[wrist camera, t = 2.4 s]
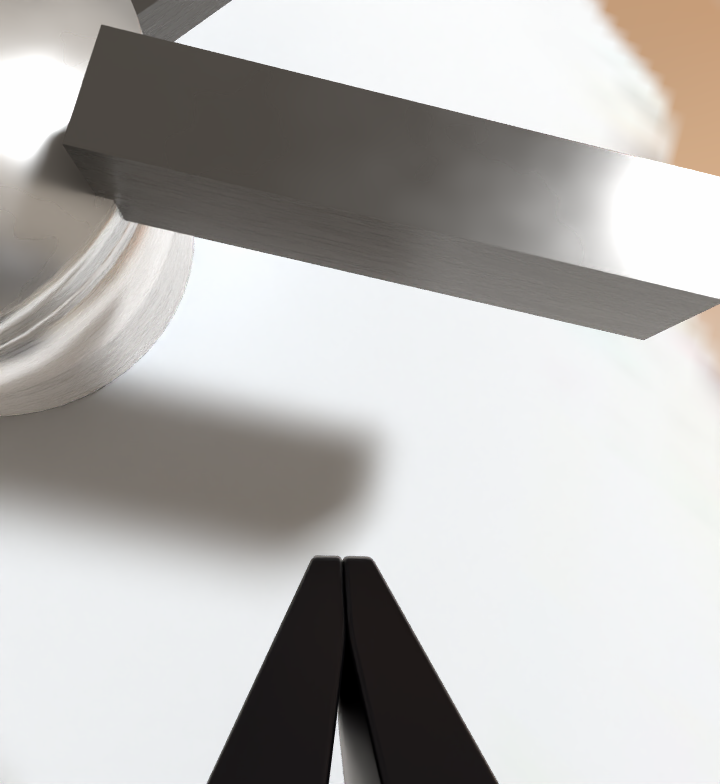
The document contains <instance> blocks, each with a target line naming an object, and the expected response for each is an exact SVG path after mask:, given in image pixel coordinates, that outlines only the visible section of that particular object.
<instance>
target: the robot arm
mask: <svg viewBox="0 0 720 784" xmlns="http://www.w3.org/2000/svg"><path fill="white" fill-rule="evenodd" d="M337 712H338V725H339V737H340V746H341V755H342V764H343V774H344V783H345V784H498V781H497V780H496V778H495V776H494V774H493V773H492V771H491V769H490V767H489V765H488V764H487V762H486V760H485V758H484V756H483V755H482V753H481V751H480V749H479V748H478V746H477V744H476V742H475V740H474V739H473V737H472V735H471V733H470V731H469V730H468V728H467V726H466V724H465V723H464V721H463V719H462V717H461V715H460V714H459V712H458V710H457V708H456V706H455V705H454V703H453V701H452V699H451V698H450V696H449V694H448V692H447V690H446V689H445V687H444V685H443V683H442V681H441V680H440V678H439V676H438V674H437V672H436V671H435V669H434V667H433V665H432V664H431V662H430V660H429V658H428V656H427V655H426V653H425V651H424V649H423V647H422V646H421V644H420V642H419V640H418V639H417V637H416V635H415V633H414V631H413V630H412V628H411V626H410V624H409V622H408V621H407V619H406V617H405V615H404V614H403V612H402V610H401V608H400V606H399V605H398V603H397V601H396V599H395V597H394V596H393V594H392V592H391V590H390V589H389V587H388V585H387V583H386V581H385V580H384V578H383V576H382V574H381V572H380V571H379V569H378V567H377V565H376V564H375V562H374V561H373V559H372V558H370V557H365V556H347V557H345V558H344V559H343V560H342V559H341V558H340V557H339V556H320V555H317V556H314V557H313V558H312V559H311V561H310V563H309V565H308V567H307V570H306V572H305V574H304V576H303V578H302V580H301V582H300V585H299V587H298V589H297V591H296V593H295V595H294V597H293V600H292V602H291V604H290V606H289V608H288V610H287V612H286V615H285V617H284V619H283V621H282V623H281V625H280V627H279V630H278V632H277V634H276V636H275V638H274V640H273V643H272V645H271V647H270V649H269V651H268V653H267V655H266V658H265V660H264V662H263V664H262V666H261V668H260V670H259V673H258V675H257V677H256V679H255V681H254V683H253V685H252V688H251V690H250V692H249V694H248V696H247V698H246V700H245V703H244V705H243V707H242V709H241V711H240V713H239V715H238V718H237V720H236V722H235V724H234V726H233V728H232V730H231V733H230V735H229V737H228V739H227V741H226V743H225V745H224V748H223V750H222V752H221V754H220V756H219V758H218V760H217V763H216V765H215V767H214V769H213V771H212V773H211V775H210V778H209V780H208V782H207V784H329V777H330V769H331V761H332V753H333V744H334V736H335V728H336V720H337Z"/></svg>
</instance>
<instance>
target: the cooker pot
mask: <svg viewBox="0 0 720 784" xmlns="http://www.w3.org/2000/svg"><path fill="white" fill-rule="evenodd" d="M230 1H231V0H131V2H132V4H133V7H134V9H135V12H136V14H137V17H138V20H139V23H140V26H141V29H142V32H143V35H147V36H151V37H155V38H159V39H163V40H167V41H171V42H174V41H175V40H177V39H178V38H180V37H181V36H182V35H184V34H185V33H187V32H188V31H189V30H191V29H192V28H194V27H195V26H196V25H198V24H199V23H201V22H202V21H203V20H205V19H206V18H208V17H209V16H210V15H212V14H213V13H215V12H216V11H217V10H219V9H220V8H222V7H223V6H224V5H226V4H227V3H229V2H230ZM193 253H194V236H190V235H186V234H181V233H177V232H173V231H168V230H164V229H160V228H155V227H151V226H147V225H142V224H138V223H134V222H129V224H128V226H127V227H126V229H125V231H124V233H123V235H122V237H121V238H120V240H119V241H118V243H117V244H116V245H115V247H114V248H113V249H112V251H111V252H110V253H109V255H108V256H107V258H106V259H105V260H104V262H103V263H102V264H101V266H100V267H99V268H98V269H97V270H96V271H95V272H94V274H93V275H92V276H91V277H90V278H89V279H88V280H87V281H86V282H85V283H84V284H83V285H82V286H81V287H80V288H79V289H78V290H77V291H76V292H75V293H74V295H72V296H71V297H70V298H69V299H67V300H66V301H65V302H64V303H63V304H61V305H60V306H59V307H58V308H56V309H55V310H54V311H53V312H52V313H50V314H49V315H48V316H47V317H45V318H44V319H43V320H41V321H40V322H38V323H37V324H35V325H33V326H32V327H30V328H29V329H27V330H25V331H24V332H22V333H21V334H19V335H18V336H16V337H14V338H13V339H11V340H10V341H8V342H5V343H3V344H1V345H0V416H14V415H21V414H28V413H34V412H40V411H44V410H47V409H51V408H55V407H58V406H62V405H65V404H67V403H70V402H72V401H75V400H77V399H80V398H82V397H85V396H87V395H89V394H91V393H93V392H94V391H96V390H98V389H100V388H102V387H103V386H105V385H107V384H109V383H110V382H112V381H113V380H114V379H116V378H117V377H119V376H120V375H121V374H123V373H124V372H125V371H127V370H128V369H130V368H131V367H132V366H133V365H134V364H135V363H136V362H137V361H138V360H139V359H140V358H141V357H142V356H143V355H144V354H146V353H147V352H148V350H149V349H150V348H151V347H152V346H153V344H154V343H155V342H156V341H157V339H158V338H159V337H160V336H161V335H162V333H163V332H164V330H165V329H166V327H167V325H168V324H169V322H170V321H171V319H172V317H173V316H174V314H175V312H176V310H177V308H178V306H179V303H180V301H181V299H182V297H183V295H184V292H185V289H186V286H187V282H188V279H189V275H190V272H191V266H192V259H193Z"/></svg>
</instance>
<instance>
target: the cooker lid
mask: <svg viewBox="0 0 720 784" xmlns="http://www.w3.org/2000/svg"><path fill="white" fill-rule="evenodd" d="M129 222H134V223H138V224H142V225H147V226H151V227H155V228H160V229H164V230H168V231H173V232H177V233H181V234H186V235H190V236H194V237H199V238H203V239H208V240H212V241H216V242H221V243H225V244H229V245H234V246H238V247H242V248H247V249H251V250H255V251H260V252H264V253H268V254H273V255H277V256H281V257H286V258H290V259H294V260H299V261H303V262H307V263H312V264H316V265H320V266H325V267H329V268H333V269H338V270H342V271H346V272H351V273H355V274H359V275H364V276H368V277H372V278H377V279H381V280H385V281H390V282H394V283H398V284H403V285H407V286H411V287H416V288H420V289H424V290H429V291H433V292H437V293H442V294H446V295H450V296H455V297H459V298H463V299H468V300H472V301H476V302H481V303H485V304H490V305H494V306H498V307H503V308H507V309H511V310H516V311H520V312H524V313H529V314H533V315H537V316H542V317H546V318H550V319H555V320H559V321H563V322H568V323H572V324H576V325H581V326H585V327H589V328H594V329H598V330H602V331H607V332H611V333H615V334H620V335H624V336H628V337H633V338H637V339H641V340H645V339H647V338H649V337H651V336H653V335H655V334H657V333H660V332H662V331H664V330H666V329H668V328H670V327H672V326H674V325H676V324H678V323H680V322H683V321H685V320H687V319H689V318H691V317H693V316H695V315H697V314H699V313H701V312H704V311H706V310H708V309H710V308H712V307H714V306H716V305H718V304H720V177H717V176H713V175H709V174H705V173H701V172H697V171H693V170H689V169H685V168H681V167H676V166H673V165H669V164H665V163H661V162H656V161H652V160H648V159H644V158H640V157H636V156H632V155H628V154H624V153H620V152H616V151H612V150H608V149H604V148H600V147H596V146H592V145H588V144H584V143H580V142H576V141H572V140H567V139H563V138H559V137H555V136H551V135H547V134H543V133H539V132H535V131H531V130H527V129H523V128H519V127H515V126H511V125H507V124H503V123H499V122H495V121H491V120H487V119H483V118H478V117H474V116H470V115H466V114H462V113H458V112H454V111H450V110H446V109H442V108H438V107H434V106H430V105H426V104H422V103H418V102H414V101H410V100H406V99H402V98H398V97H394V96H389V95H385V94H381V93H377V92H373V91H369V90H365V89H361V88H357V87H353V86H349V85H345V84H341V83H337V82H333V81H329V80H325V79H321V78H317V77H313V76H309V75H305V74H300V73H296V72H292V71H288V70H284V69H280V68H276V67H272V66H268V65H264V64H260V63H256V62H252V61H248V60H244V59H240V58H236V57H232V56H228V55H224V54H220V53H216V52H211V51H207V50H203V49H199V48H195V47H191V46H187V45H183V44H179V43H175V42H171V41H167V40H163V39H159V38H155V37H151V36H147V35H143V32H142V29H141V26H140V23H139V20H138V17H137V14H136V12H135V9H134V7H133V4H132V2H131V0H0V345H1V344H3V343H5V342H8V341H10V340H11V339H13V338H14V337H16V336H18V335H19V334H21V333H22V332H24V331H25V330H27V329H29V328H30V327H32V326H33V325H35V324H37V323H38V322H40V321H41V320H43V319H44V318H45V317H47V316H48V315H49V314H50V313H52V312H53V311H54V310H55V309H56V308H58V307H59V306H60V305H61V304H63V303H64V302H65V301H66V300H67V299H69V298H70V297H71V296H72V295H74V293H75V292H76V291H77V290H78V289H79V288H80V287H81V286H82V285H83V284H84V283H85V282H86V281H87V280H88V279H89V278H90V277H91V276H92V275H93V274H94V272H95V271H96V270H97V269H98V268H99V267H100V266H101V264H102V263H103V262H104V260H105V259H106V258H107V256H108V255H109V253H110V252H111V251H112V249H113V248H114V247H115V245H116V244H117V243H118V241H119V240H120V238H121V237H122V235H123V233H124V231H125V229H126V227H127V226H128V224H129Z"/></svg>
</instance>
